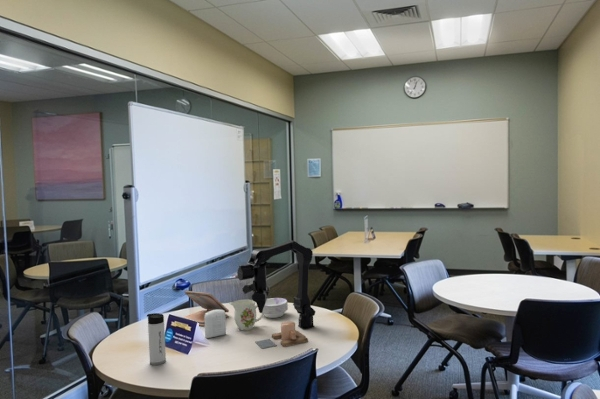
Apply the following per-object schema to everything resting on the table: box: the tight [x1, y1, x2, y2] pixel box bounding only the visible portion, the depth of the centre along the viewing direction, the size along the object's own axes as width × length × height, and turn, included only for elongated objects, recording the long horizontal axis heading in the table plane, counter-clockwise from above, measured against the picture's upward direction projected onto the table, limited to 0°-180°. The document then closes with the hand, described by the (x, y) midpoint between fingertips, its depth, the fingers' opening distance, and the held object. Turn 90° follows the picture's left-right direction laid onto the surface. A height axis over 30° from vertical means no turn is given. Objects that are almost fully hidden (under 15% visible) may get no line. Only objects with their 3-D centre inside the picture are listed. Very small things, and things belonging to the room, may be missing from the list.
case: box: [183, 290, 230, 327], centre depth 234 cm, size 20×21×16 cm
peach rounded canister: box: [280, 320, 296, 342], centre depth 196 cm, size 10×7×8 cm
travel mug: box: [146, 312, 167, 366], centre depth 177 cm, size 6×7×20 cm
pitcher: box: [228, 298, 265, 331], centre depth 216 cm, size 11×18×14 cm, turn 115°
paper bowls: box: [263, 297, 289, 319], centre depth 235 cm, size 15×15×8 cm
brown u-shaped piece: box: [271, 329, 309, 348], centre depth 198 cm, size 12×14×2 cm
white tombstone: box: [204, 310, 227, 339], centre depth 206 cm, size 10×4×12 cm, turn 123°
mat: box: [255, 338, 277, 350], centre depth 193 cm, size 7×9×1 cm
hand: (262, 309), depth 201 cm, fingers open, 9 cm apart
